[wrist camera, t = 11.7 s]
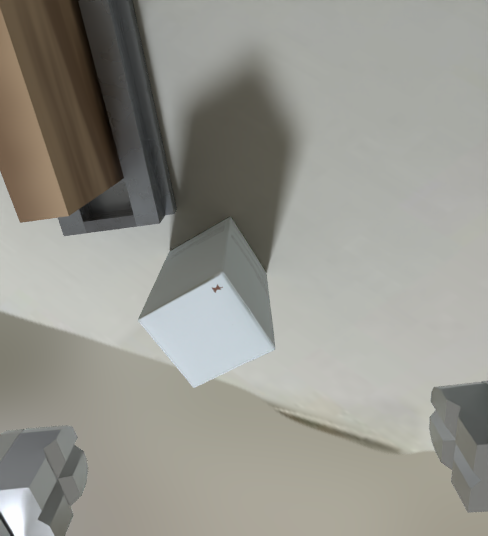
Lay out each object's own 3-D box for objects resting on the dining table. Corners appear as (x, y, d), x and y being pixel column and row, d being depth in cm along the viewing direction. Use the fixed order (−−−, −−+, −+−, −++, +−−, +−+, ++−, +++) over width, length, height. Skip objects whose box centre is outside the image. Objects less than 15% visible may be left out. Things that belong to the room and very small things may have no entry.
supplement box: (166, 251, 38) (132, 318, 27) (231, 214, 37) (224, 268, 25) (207, 307, 41) (191, 391, 30) (269, 275, 40) (278, 350, 28)
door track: (113, -89, 28) (93, -117, 24) (176, 209, 37) (168, 222, 33) (-20, -65, 29) (-60, -88, 25) (73, 223, 37) (54, 237, 34)
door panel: (76, -16, 28) (-31, -86, 17) (126, 176, 34) (68, 216, 23) (36, -9, 29) (-94, -74, 18) (92, 181, 34) (20, 222, 23)
